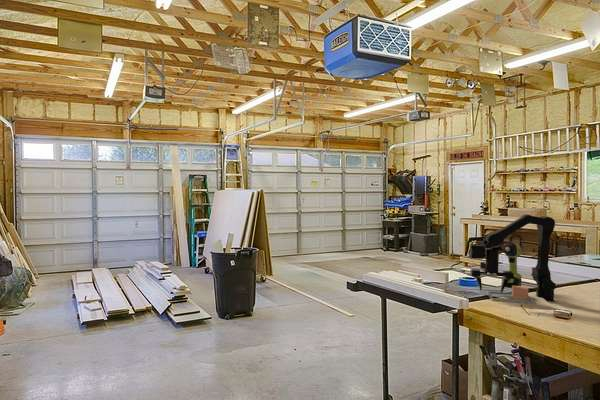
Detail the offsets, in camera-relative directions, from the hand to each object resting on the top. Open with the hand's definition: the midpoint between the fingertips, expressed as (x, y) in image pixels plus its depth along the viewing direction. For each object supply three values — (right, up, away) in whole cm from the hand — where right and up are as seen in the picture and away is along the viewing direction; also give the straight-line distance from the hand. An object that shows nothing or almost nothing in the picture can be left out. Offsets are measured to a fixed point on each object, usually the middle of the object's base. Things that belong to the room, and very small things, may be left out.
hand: (491, 291), depth 210 cm
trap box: (+6, -3, -6) cm, 9 cm away
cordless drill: (+17, -3, +17) cm, 24 cm away
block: (+12, -2, -3) cm, 13 cm away
